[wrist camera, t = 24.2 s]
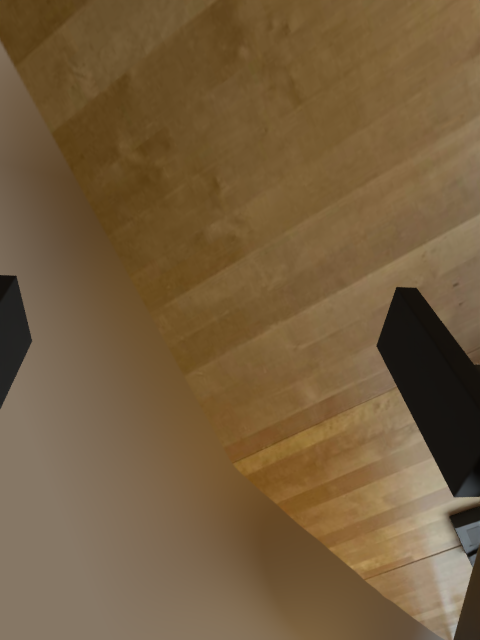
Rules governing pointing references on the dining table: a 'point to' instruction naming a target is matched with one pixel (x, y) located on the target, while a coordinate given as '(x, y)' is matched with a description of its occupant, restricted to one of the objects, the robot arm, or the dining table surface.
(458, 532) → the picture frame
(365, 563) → the dining table surface
